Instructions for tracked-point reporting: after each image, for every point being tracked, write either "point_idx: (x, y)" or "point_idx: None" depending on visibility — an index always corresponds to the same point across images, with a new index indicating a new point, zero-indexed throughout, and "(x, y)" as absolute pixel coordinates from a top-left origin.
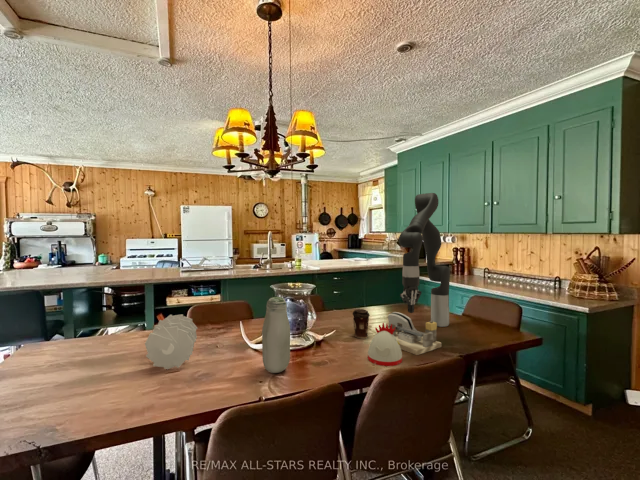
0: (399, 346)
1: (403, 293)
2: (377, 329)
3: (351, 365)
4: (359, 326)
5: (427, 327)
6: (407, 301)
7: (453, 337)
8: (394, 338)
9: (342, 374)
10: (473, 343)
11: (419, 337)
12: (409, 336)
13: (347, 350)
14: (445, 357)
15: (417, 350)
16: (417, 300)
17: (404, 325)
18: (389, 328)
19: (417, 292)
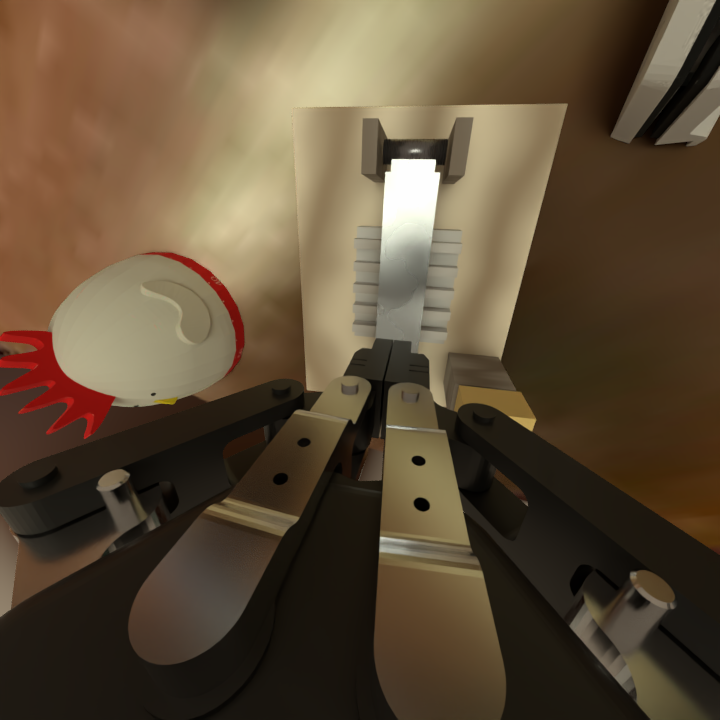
0: (182, 395)
1: (33, 573)
2: (29, 336)
3: (44, 284)
4: None
5: (457, 405)
6: (235, 472)
7: (705, 376)
8: (129, 405)
9: (3, 316)
10: (647, 470)
11: (424, 340)
12: (353, 325)
13: (66, 132)
14: (382, 451)
15: (310, 389)
16: (487, 501)
17: (653, 48)
18: (71, 404)
19: (612, 675)
